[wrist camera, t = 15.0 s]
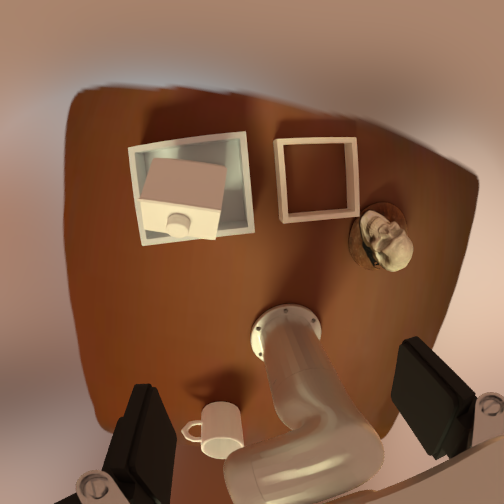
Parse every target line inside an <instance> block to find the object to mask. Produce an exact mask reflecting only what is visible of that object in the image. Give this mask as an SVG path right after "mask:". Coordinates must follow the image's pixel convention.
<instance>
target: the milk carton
mask: <svg viewBox="0 0 504 504" xmlns="http://www.w3.org/2000/svg"><path fill="white" fill-rule="evenodd" d="M226 174H227V168H226V167H225V166H224V165H218V164H212V163H206V162H199V161H192V160H184V159H174V158H153V160H152V163H151V166H150V168H149V171H148V174H147V177H146V181H145V184H144V187H143V190H142V193H141V196H140V198H138V199H137V201H140V203H141V211H142V219H143V226H144V229H145V230H149V231H156V232H162V233H168V234H169V235H170V236H173V237H176V238H183V237H186V236H189V237H196V238H203V239H210V240H215V239H216V234H217V228H218V223H219V218H220V213H221V207H222V201H223V194H224V187H225V181H226Z"/></svg>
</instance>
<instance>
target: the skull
mask: <svg viewBox="0 0 504 504" xmlns="http://www.w3.org/2000/svg"><path fill="white" fill-rule="evenodd" d="M349 248H350V253H351V255H352V257H353V259H354V260H355V262H356V263H357V264H358V265H359V266H361V267H363V268H365V269H368V270H378V268H375V267H374V265H375V264H374V263H375V262H377V263H378V264H376V265H379V264H380V265H381V266H382V267H383V268H384V269H386V270H388V271H392V272H395V271H398V270H400V269H402V268H404V267H406V266H407V264H408V263H409V261H410V259H411V257H412V253H413V244H412V242H411V240H410V239H409V237H408V236H407V223H406V220H405V217H404V215H403V213H402V212H401V210H400V209H399V208H398V207H396V206H395V205H393V204H391V203H386V202H380V203H375V204H373V205H370V206H369V207H367V208H366V209H364V210H363V211H362V212H361V213H360V216H359V217H357V218H356V220H355V222H354V224H353V226H352V228H351V231H350V237H349ZM374 261H375V262H374ZM376 265H375V266H376ZM373 267H374V268H373Z"/></svg>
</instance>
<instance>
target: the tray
mask: <svg viewBox="0 0 504 504" xmlns="http://www.w3.org/2000/svg"><path fill="white" fill-rule="evenodd" d="M327 143H344V148H345V164H346V185H347V208H346V209H333V210H322V211H310V212H299V213H288V203H287V189H286V175H285V162H284V150H283V145H295V144H327ZM273 145H274V157H275V169H276V181H277V195H278V208H279V220H280V221H281V222H282V223H283V224H285V223H295V222H305V221H315V220H326V219H337V218H348V217H359V216H360V203H359V171H358V153H357V138H356V137H314V138H286V139H275V140H273Z"/></svg>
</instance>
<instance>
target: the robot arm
mask: <svg viewBox="0 0 504 504" xmlns="http://www.w3.org/2000/svg"><path fill="white" fill-rule="evenodd" d="M320 338H321V325H320V322H319V320H318V318H317V317H316V315H315V314H314V313H313V312H312V311H311V310H310V309H308V308H306V307H304V306H301V305H298V304H283V305H279V306H275V307H273V308H271V309H269V310H267V311H266V312H264V313H263V314H262V315H261V316H260V317H259V318H258V319H257V320H256V322H255V323H254V325H253V327H252V330H251V334H250V341H251V346H252V349H253V351H254V353H255V354H256V356H257V357H258V358H259V359H261V360H262V361H264V363H265V367H266V372H267V376H268V380H269V385H270V389H271V393H272V398H273V402H274V407H275V410H276V413H277V415H278V416H279V418H280V419H281V421H282V422H283V423H284V424H285V425H287V426H288V427H289V428H291V429H292V430H293V431H290V432H288V433H286V434H283V435H280V436H277V437H274V438H271V439H268V440H264V441H261V442H258V443H254V444H251V445H248V446H245V447H242V448H239V449H237V450H235V451H233V452H232V453H230V454H229V455H228V457H227V458H226V460H225V463H224V477H225V481H226V485H227V488H228V491H229V493H230V496H231V498H232V501H233V503H234V504H313V503H317V502H320V501H323V500H326V499H329V498H332V497H334V496H337V495H340V494H342V493H345V492H348V491H350V490H352V489H354V488H357V487H358V486H360V485H362V484H364V483H365V482H367V481H368V480H370V479H371V478H372V477H373V476H375V474H376V473H377V472H378V471H379V470H380V468H381V466H382V464H383V461H384V448H383V444H382V442H381V440H380V438H379V436H378V434H377V433H376V431H375V430H374V428H373V427H372V426H371V425H370V423H369V422H368V421H367V420H366V419H365V417H364V416H363V415H362V414H361V413H360V411H359V410H358V409H357V407H356V406H355V405H354V403H353V402H352V400H351V399H350V397H349V395H348V394H347V392H346V390H345V388H344V386H343V384H342V383H341V381H340V379H339V377H338V375H337V373H336V371H335V369H334V367H333V365H332V364H331V362H330V360H329V358H328V356H327V354H326V352H325V350H324V348H323V347H322V345H321V343H320ZM391 398H392V401H393V403H394V404H395V406H396V407H397V409H398V410H399V412H400V413H401V414H402V416H403V417H404V419H405V420H406V422H407V423H408V425H409V426H410V428H411V429H412V431H413V433H414V434H415V436H416V437H417V438H418V440H419V441H420V443H421V445H422V446H423V448H424V449H425V451H426V452H427V454H428V455H430V456H431V455H432V456H433V457H434V458H435V460H437V459H439V458H441V457H443V456H445V455H446V454H447V456H448V457H449V460H447V461H445V462H443V463H441V464H439V465H437V466H435V467H433V468H431V469H429V470H427V471H425V472H423V473H421V474H418V475H416V476H414V477H412V478H409V479H407V480H405V481H403V482H400V483H397V484H395V485H392V486H390V487H387V488H385V489H382V490H379V491H375V490H364V491H358V492H355V493H352V494H349V495H346V496H343V497H340V498H337V499H334V500H332V501H329V502H326V503H323V504H504V397H503V396H502V395H500V394H498V393H493V392H488V393H484V394H482V395H481V396H479V397H478V398H477V397H476V396H475V392H473V390H472V389H471V388H469V386H468V385H467V384H466V383H465V382H464V381H463V380H462V379H461V378H460V377H459V376H458V375H457V374H456V373H455V372H454V371H453V370H452V369H451V368H450V367H449V366H448V365H447V364H446V363H445V362H444V361H443V360H442V359H440V358H439V356H437V355H436V354H435V353H434V352H433V351H432V350H431V349H430V348H429V347H428V346H427V345H426V344H425V343H424V342H423V341H422V340H421V339H420V338H419V337H417V336H415V337H412V338H409V339H406V340H404V341H403V342H402V344H401V345H400V346H399V351H398V357H397V364H396V369H395V375H394V381H393V386H392V391H391ZM176 442H177V437H176V433H175V430H174V428H173V426H172V424H171V421H170V419H169V417H168V414H167V412H166V410H165V407H164V405H163V403H162V400H161V398H160V395H159V393H158V390H157V388H156V387H152V385H151V384H136V385H135V386H134V388H133V391H132V394H131V396H130V399H129V402H128V405H127V408H126V411H125V414H124V417H120V418H119V420H118V422H117V425H116V427H115V430H114V433H113V436H112V439H111V443H110V445H109V448H108V452H107V455H106V458H105V461H104V465H103V467H102V471H99V470H92V471H88V472H86V473H84V474H83V475H81V477H80V478H79V479H78V481H77V483H76V493H75V494H72V495H71V496H68V497H67V498H65V499H62V500H61V501H58V502H56V503H54V504H170V495H171V486H172V476H173V467H174V458H175V450H176Z"/></svg>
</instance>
